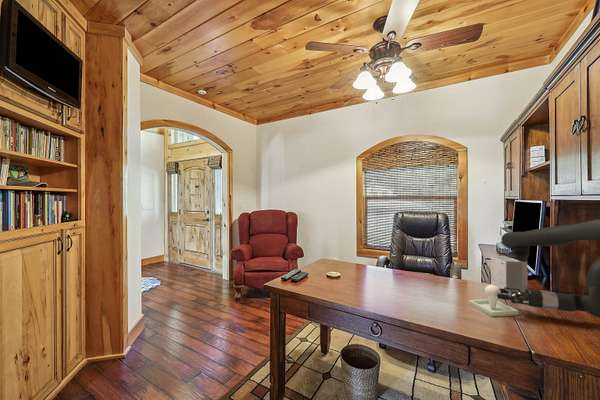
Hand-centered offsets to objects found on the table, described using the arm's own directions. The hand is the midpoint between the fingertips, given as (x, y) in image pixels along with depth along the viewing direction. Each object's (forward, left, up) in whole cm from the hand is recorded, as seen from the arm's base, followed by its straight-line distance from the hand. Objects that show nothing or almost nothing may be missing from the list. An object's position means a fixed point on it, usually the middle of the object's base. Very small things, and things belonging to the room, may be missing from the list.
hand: (495, 292), depth 119 cm
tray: (-1, -1, -8) cm, 8 cm away
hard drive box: (-17, +22, -8) cm, 29 cm away
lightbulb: (-1, -1, -8) cm, 8 cm away
